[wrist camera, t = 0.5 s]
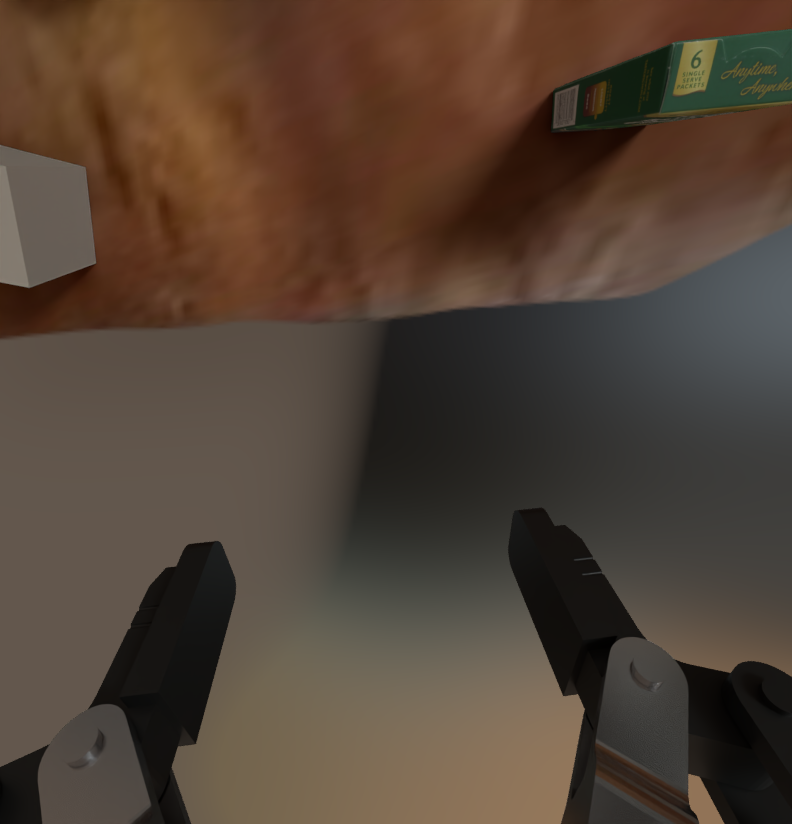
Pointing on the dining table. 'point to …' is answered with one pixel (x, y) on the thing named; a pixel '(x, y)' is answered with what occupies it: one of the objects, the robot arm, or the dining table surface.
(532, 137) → the dining table surface
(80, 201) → the block
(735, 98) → the coffee box
